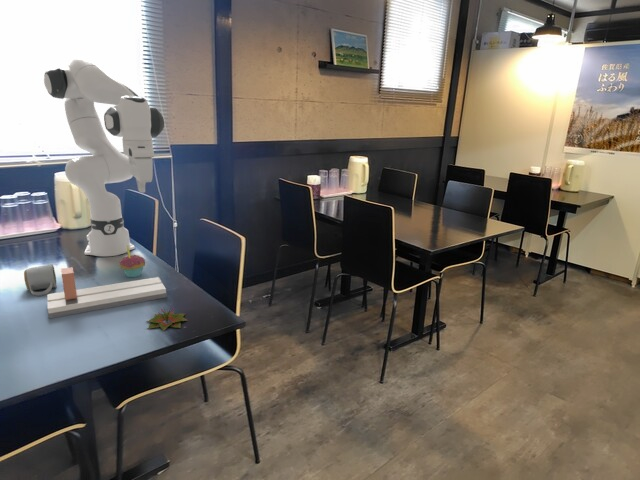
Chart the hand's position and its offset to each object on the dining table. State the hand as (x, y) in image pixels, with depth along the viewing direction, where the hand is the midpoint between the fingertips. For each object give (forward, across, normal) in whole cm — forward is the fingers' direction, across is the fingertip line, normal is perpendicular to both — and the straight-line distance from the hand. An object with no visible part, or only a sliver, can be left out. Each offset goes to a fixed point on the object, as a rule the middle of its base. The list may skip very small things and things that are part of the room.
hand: (141, 191), depth 142 cm
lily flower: (+32, +34, -1) cm, 47 cm away
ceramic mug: (+31, -6, -31) cm, 45 cm away
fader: (+29, +12, -24) cm, 40 cm away
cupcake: (+31, -7, -4) cm, 32 cm away
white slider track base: (+31, +12, -14) cm, 36 cm away
